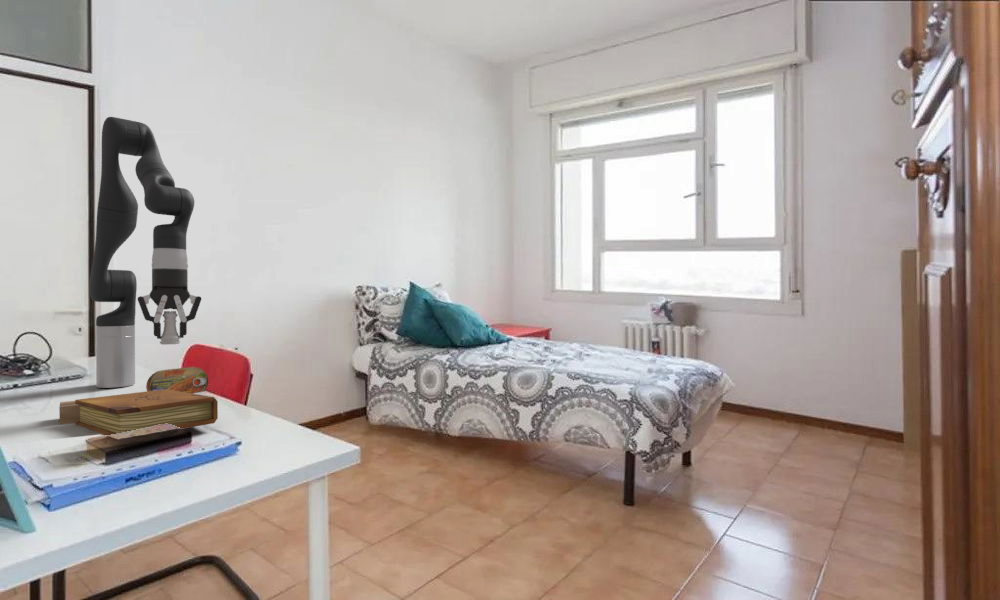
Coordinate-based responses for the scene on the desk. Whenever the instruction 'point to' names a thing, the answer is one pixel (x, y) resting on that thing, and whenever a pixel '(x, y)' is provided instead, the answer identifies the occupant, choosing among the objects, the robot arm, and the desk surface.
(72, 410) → the walnut block
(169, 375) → the tin
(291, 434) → the desk surface
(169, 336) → the rook chess piece
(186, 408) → the diary
